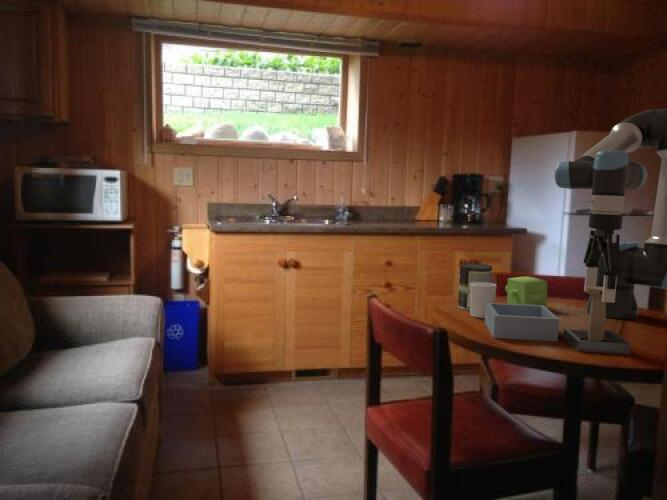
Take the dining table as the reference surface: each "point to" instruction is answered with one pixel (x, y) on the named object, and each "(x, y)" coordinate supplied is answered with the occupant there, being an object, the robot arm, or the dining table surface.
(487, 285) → the white cup
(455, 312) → the dining table surface
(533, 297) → the gearbox
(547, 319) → the bin
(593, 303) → the handle
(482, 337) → the dining table surface
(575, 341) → the flat grey tray
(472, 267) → the coffee can
